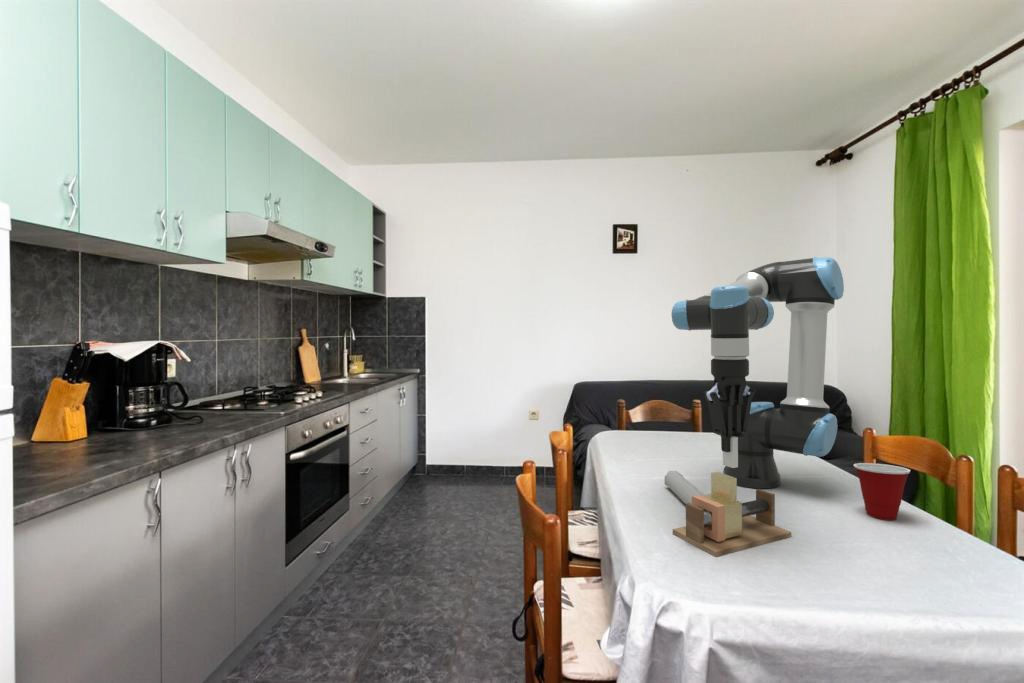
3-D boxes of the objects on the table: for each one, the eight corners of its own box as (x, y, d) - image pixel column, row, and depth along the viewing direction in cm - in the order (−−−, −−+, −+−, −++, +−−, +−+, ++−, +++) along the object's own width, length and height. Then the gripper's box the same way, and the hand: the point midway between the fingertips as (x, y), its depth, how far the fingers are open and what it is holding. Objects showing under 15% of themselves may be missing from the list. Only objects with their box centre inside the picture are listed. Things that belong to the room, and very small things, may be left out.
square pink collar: (698, 527, 106) (698, 494, 106) (725, 540, 99) (725, 505, 99) (691, 528, 105) (691, 496, 105) (718, 542, 98) (717, 507, 98)
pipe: (759, 509, 110) (759, 496, 110) (771, 513, 108) (771, 500, 108) (689, 525, 102) (689, 511, 102) (700, 530, 99) (700, 515, 99)
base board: (744, 517, 115) (744, 483, 115) (791, 536, 104) (791, 499, 104) (672, 533, 106) (672, 497, 106) (715, 556, 95) (715, 516, 95)
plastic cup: (893, 508, 119) (893, 460, 119) (921, 526, 109) (921, 473, 108) (844, 506, 121) (844, 458, 121) (867, 522, 111) (867, 471, 110)
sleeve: (716, 522, 108) (716, 470, 107) (741, 534, 101) (741, 478, 101) (699, 526, 106) (699, 473, 105) (724, 538, 99) (724, 482, 99)
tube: (725, 506, 112) (685, 473, 137) (703, 499, 112) (667, 467, 137) (717, 528, 112) (679, 491, 137) (696, 521, 112) (661, 485, 137)
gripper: (737, 355, 110) (737, 458, 111) (693, 358, 105) (694, 465, 105) (766, 357, 103) (766, 466, 104) (721, 360, 98) (722, 475, 98)
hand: (730, 465), depth 105 cm, fingers closed
